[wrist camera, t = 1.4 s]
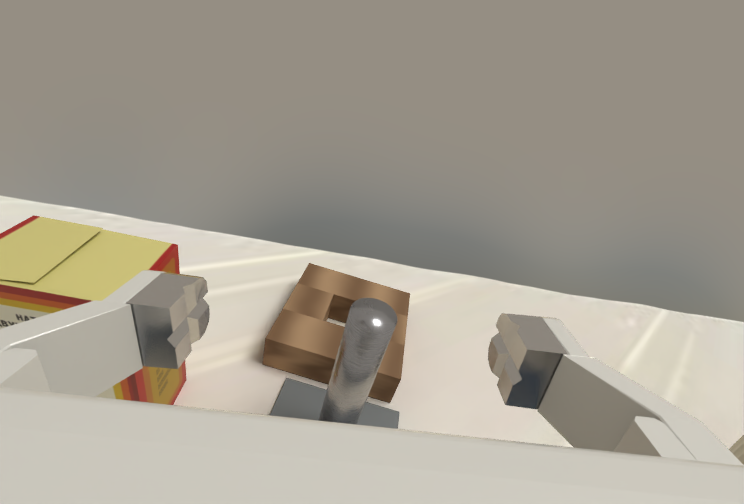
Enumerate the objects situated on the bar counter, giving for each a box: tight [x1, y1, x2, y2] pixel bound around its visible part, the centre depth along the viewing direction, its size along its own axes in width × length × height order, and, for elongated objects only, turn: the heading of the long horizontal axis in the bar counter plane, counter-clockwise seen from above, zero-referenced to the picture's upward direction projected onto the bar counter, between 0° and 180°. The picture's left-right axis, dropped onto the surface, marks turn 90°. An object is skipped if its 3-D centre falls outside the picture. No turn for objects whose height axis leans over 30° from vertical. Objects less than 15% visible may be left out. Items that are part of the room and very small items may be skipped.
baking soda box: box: [0, 216, 186, 405], centre depth 26 cm, size 10×6×16 cm
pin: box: [318, 298, 397, 425], centre depth 27 cm, size 3×3×16 cm
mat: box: [270, 378, 399, 429], centre depth 31 cm, size 12×10×1 cm
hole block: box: [263, 263, 410, 403], centre depth 41 cm, size 14×14×4 cm
